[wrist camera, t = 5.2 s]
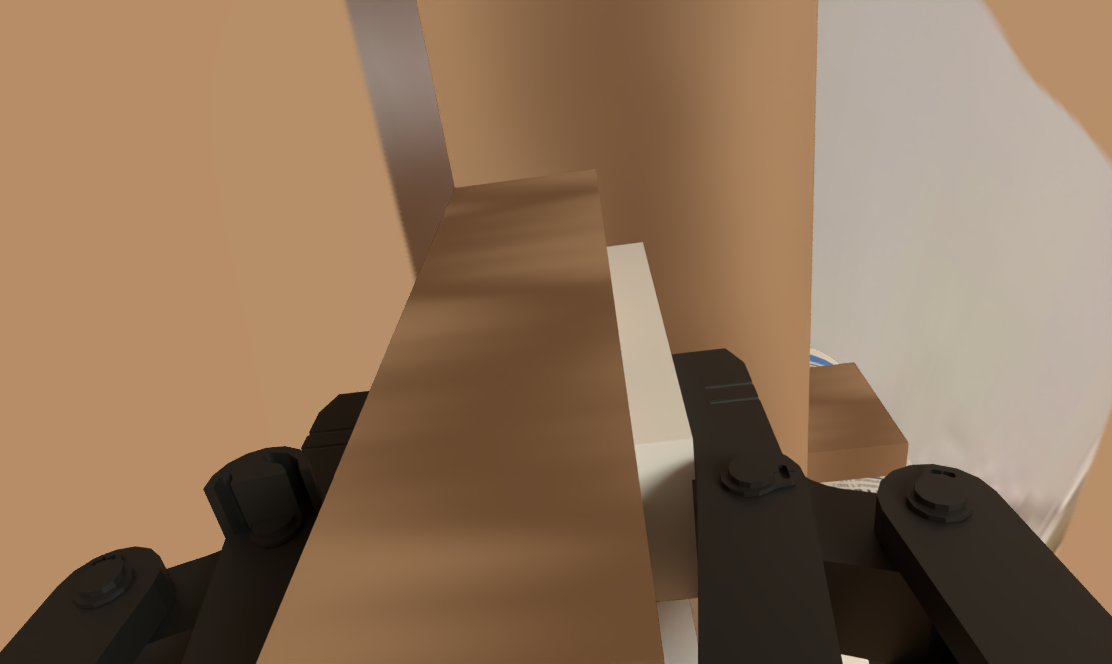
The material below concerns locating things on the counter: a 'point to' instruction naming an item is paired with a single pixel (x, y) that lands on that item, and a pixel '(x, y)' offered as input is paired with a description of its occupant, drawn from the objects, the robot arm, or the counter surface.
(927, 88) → the counter surface
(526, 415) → the wooden bracket
